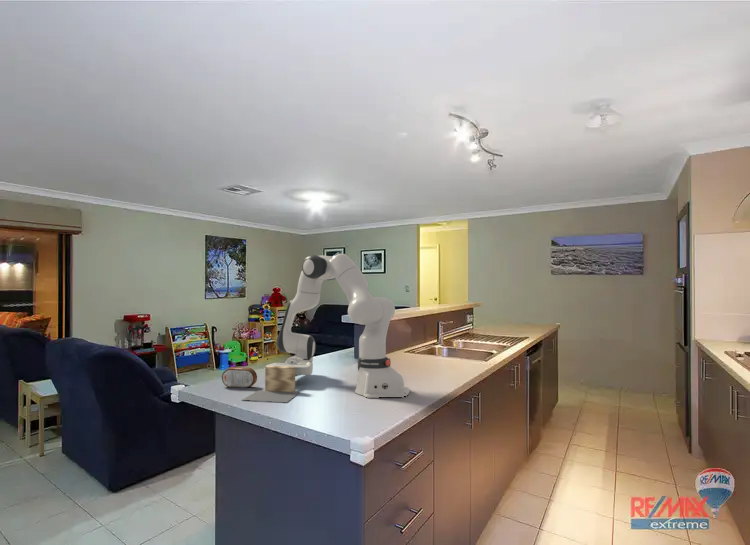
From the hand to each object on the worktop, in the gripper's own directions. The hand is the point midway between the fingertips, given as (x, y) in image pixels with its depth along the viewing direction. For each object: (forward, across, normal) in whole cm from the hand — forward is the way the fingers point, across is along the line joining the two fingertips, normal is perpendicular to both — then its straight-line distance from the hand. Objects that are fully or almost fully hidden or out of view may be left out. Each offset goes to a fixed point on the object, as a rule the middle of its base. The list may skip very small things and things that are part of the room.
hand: (282, 373), depth 157 cm
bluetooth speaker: (-1, -20, +7) cm, 21 cm away
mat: (+10, 0, +7) cm, 12 cm away
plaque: (+2, 0, +7) cm, 7 cm away
